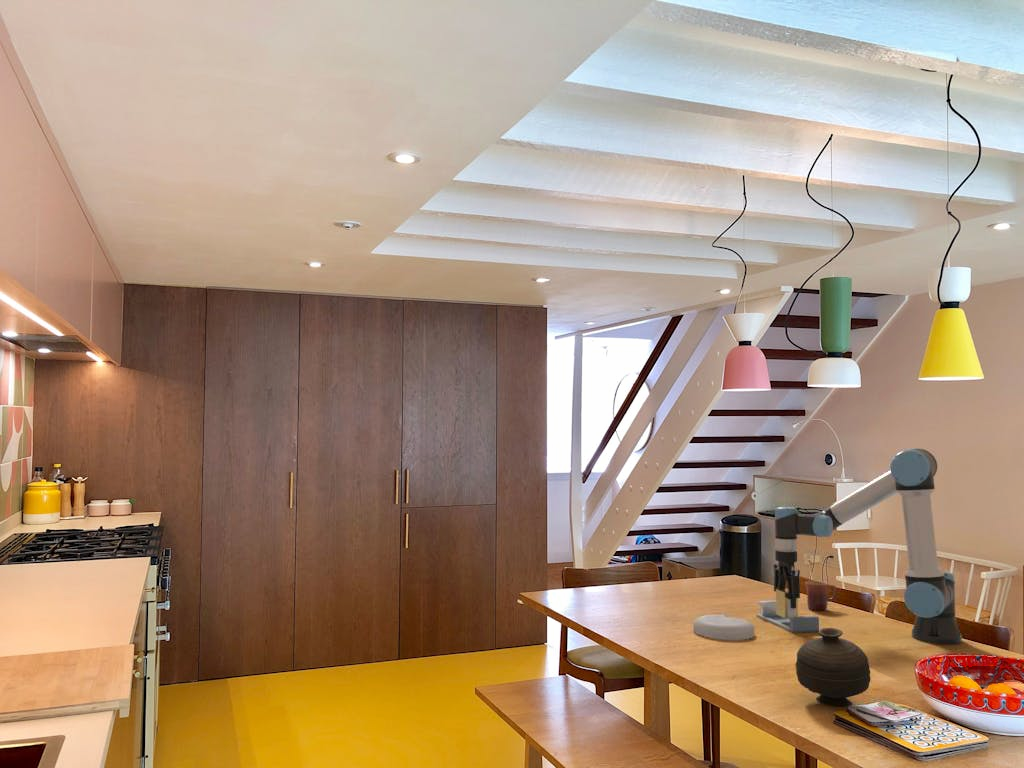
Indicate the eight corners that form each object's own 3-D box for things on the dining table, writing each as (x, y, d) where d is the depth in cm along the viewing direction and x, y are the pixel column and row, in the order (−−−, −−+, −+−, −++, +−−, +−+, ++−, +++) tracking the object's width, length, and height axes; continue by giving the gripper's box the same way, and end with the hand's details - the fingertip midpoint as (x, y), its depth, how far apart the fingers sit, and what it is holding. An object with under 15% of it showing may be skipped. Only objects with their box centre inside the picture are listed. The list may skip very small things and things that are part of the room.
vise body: (819, 634, 287) (818, 616, 288) (793, 636, 285) (792, 618, 286) (780, 618, 312) (780, 601, 312) (756, 619, 310) (756, 603, 310)
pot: (801, 718, 205) (799, 636, 206) (791, 695, 222) (790, 620, 223) (878, 724, 201) (876, 640, 202) (863, 700, 218) (861, 623, 219)
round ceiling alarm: (674, 631, 294) (674, 613, 294) (738, 627, 300) (738, 609, 300) (707, 649, 270) (707, 630, 270) (776, 644, 276) (776, 626, 276)
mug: (808, 611, 323) (808, 585, 323) (803, 606, 332) (802, 580, 332) (840, 612, 322) (840, 585, 322) (834, 607, 330) (833, 581, 331)
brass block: (797, 617, 296) (797, 591, 296) (785, 618, 295) (784, 592, 295) (788, 613, 302) (788, 588, 302) (776, 614, 301) (776, 589, 301)
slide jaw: (783, 615, 309) (783, 601, 310) (760, 616, 307) (760, 602, 308) (780, 614, 311) (780, 600, 312) (758, 615, 309) (757, 601, 310)
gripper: (810, 553, 291) (811, 620, 290) (781, 546, 310) (782, 608, 308) (791, 554, 289) (791, 621, 288) (763, 546, 308) (763, 609, 307)
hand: (786, 614), depth 298 cm, fingers closed on brass block, 6 cm apart
